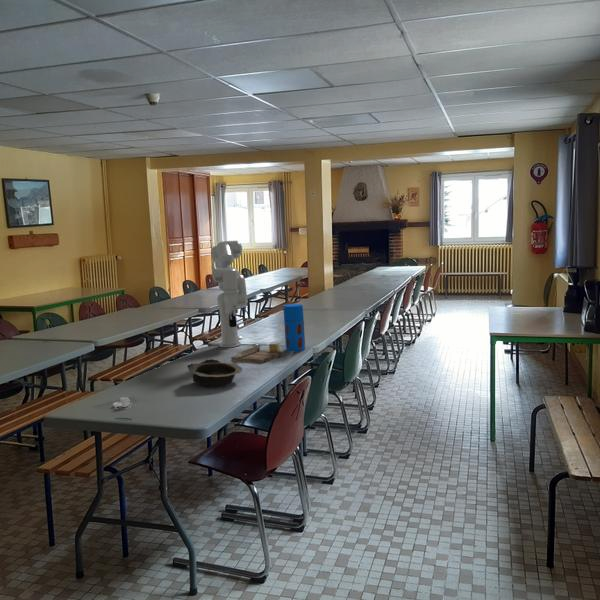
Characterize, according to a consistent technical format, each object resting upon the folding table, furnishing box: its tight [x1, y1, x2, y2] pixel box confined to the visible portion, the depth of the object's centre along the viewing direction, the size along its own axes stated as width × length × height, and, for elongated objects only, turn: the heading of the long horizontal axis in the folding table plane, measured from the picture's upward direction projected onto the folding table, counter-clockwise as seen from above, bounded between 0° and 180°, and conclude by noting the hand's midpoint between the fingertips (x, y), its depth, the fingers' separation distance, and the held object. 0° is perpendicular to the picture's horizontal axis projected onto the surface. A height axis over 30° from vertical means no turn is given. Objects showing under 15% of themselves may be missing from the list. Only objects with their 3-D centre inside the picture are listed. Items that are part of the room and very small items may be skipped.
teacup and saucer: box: [112, 396, 131, 408], centre depth 239 cm, size 9×8×4 cm
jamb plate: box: [230, 349, 285, 365], centre depth 314 cm, size 20×20×2 cm
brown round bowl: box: [187, 358, 243, 388], centre depth 267 cm, size 25×25×9 cm
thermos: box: [283, 303, 306, 353], centre depth 328 cm, size 11×11×25 cm
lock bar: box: [236, 343, 261, 357], centre depth 315 cm, size 17×4×4 cm, turn 150°
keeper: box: [268, 342, 280, 352], centre depth 318 cm, size 2×5×4 cm, turn 59°
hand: (233, 326), depth 315 cm, fingers closed
